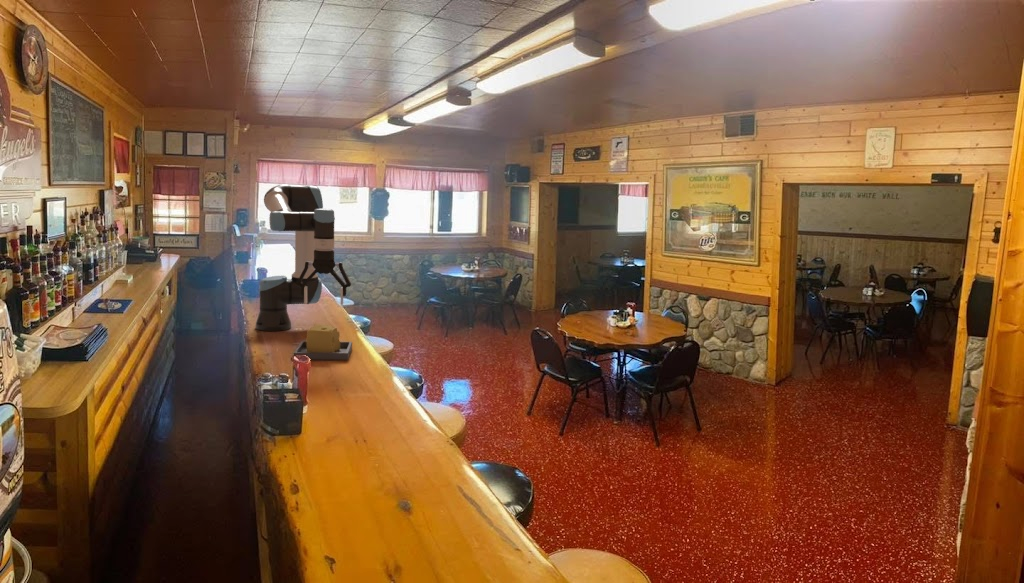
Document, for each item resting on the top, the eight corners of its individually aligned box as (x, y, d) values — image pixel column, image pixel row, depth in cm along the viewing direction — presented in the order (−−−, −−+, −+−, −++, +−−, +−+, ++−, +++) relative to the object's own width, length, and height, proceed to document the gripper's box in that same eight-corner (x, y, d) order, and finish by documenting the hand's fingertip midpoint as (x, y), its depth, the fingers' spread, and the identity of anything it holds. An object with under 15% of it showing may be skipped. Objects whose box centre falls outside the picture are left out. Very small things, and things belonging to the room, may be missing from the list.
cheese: (340, 349, 259) (340, 325, 257) (331, 356, 248) (332, 331, 247) (314, 348, 259) (314, 323, 258) (305, 355, 249) (305, 329, 247)
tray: (301, 348, 261) (301, 341, 261) (352, 348, 264) (352, 341, 264) (293, 360, 244) (293, 352, 243) (347, 360, 247) (347, 353, 246)
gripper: (288, 249, 241) (288, 305, 245) (356, 251, 245) (356, 306, 249) (291, 247, 249) (292, 301, 252) (358, 249, 253) (357, 302, 256)
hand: (323, 303), depth 251 cm, fingers open, 13 cm apart
